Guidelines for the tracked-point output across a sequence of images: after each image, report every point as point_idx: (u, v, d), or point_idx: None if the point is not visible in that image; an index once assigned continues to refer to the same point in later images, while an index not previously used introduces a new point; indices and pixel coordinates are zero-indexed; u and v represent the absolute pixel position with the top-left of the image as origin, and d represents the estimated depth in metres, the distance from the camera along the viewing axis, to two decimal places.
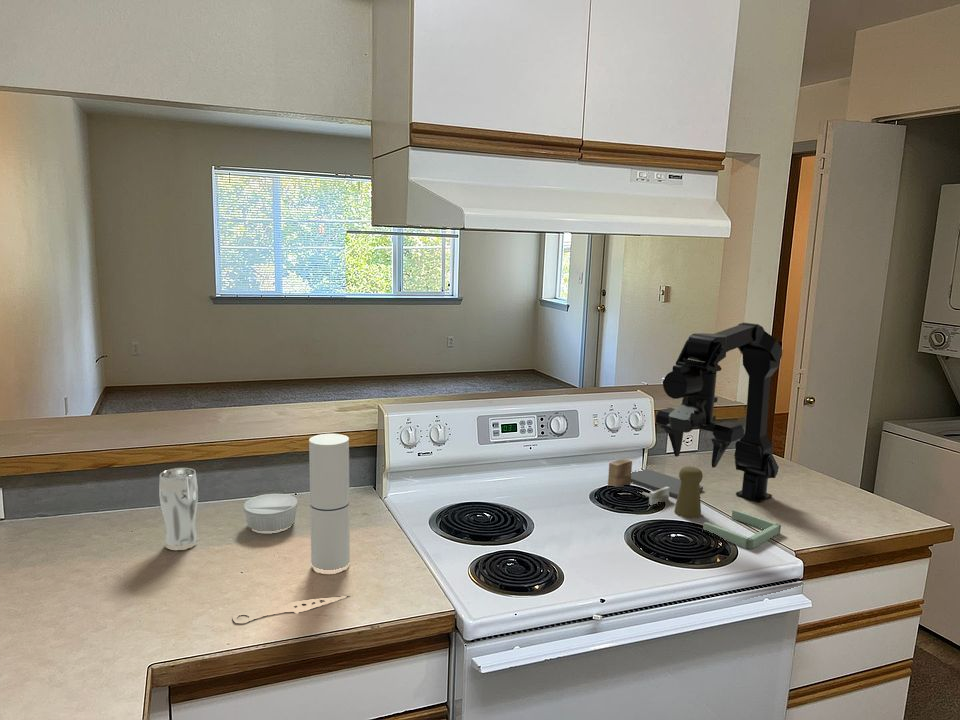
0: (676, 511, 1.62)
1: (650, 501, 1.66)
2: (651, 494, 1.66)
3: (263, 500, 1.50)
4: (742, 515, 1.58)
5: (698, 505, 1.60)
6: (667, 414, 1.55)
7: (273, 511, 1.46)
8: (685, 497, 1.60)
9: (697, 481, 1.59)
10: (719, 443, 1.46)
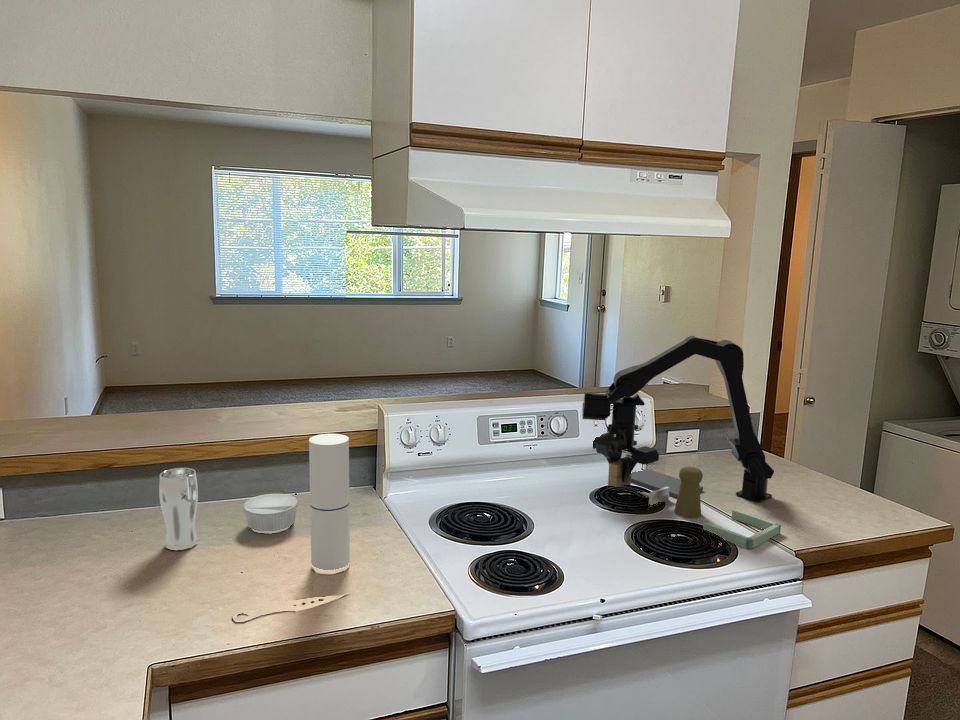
0: (676, 511, 1.62)
1: (650, 501, 1.66)
2: (651, 494, 1.66)
3: (263, 500, 1.50)
4: (742, 515, 1.58)
5: (698, 505, 1.60)
6: (596, 439, 1.78)
7: (273, 511, 1.46)
8: (685, 497, 1.60)
9: (697, 481, 1.59)
10: (626, 462, 1.72)
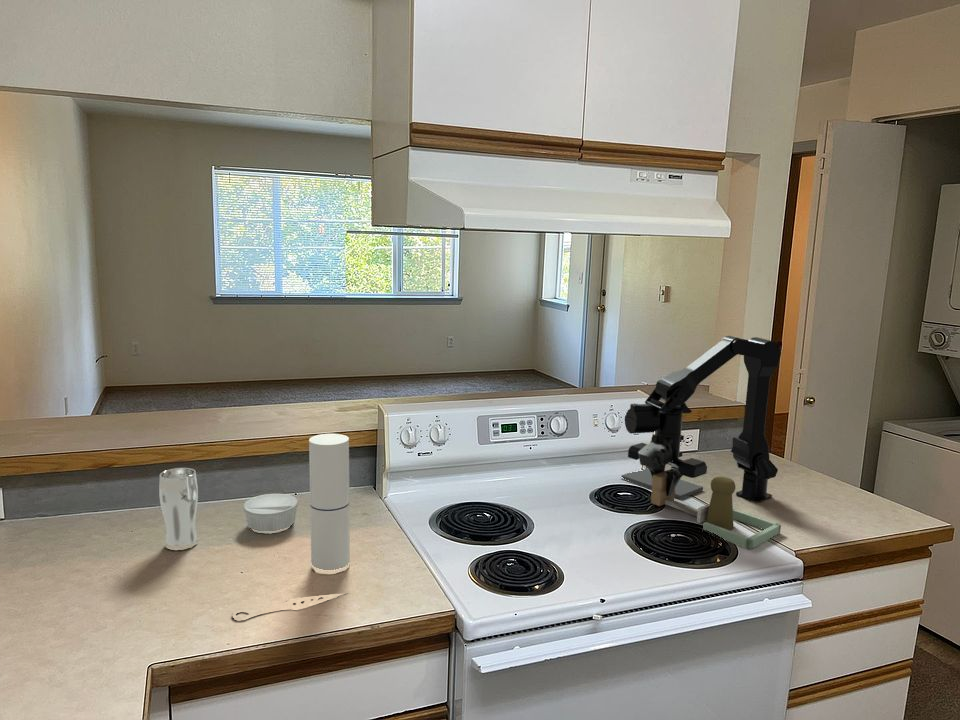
0: None
1: (698, 517, 1.57)
2: (700, 510, 1.56)
3: (263, 500, 1.50)
4: (742, 515, 1.58)
5: (730, 517, 1.54)
6: (638, 450, 1.69)
7: (273, 511, 1.46)
8: (716, 509, 1.54)
9: (729, 492, 1.52)
10: (672, 475, 1.62)
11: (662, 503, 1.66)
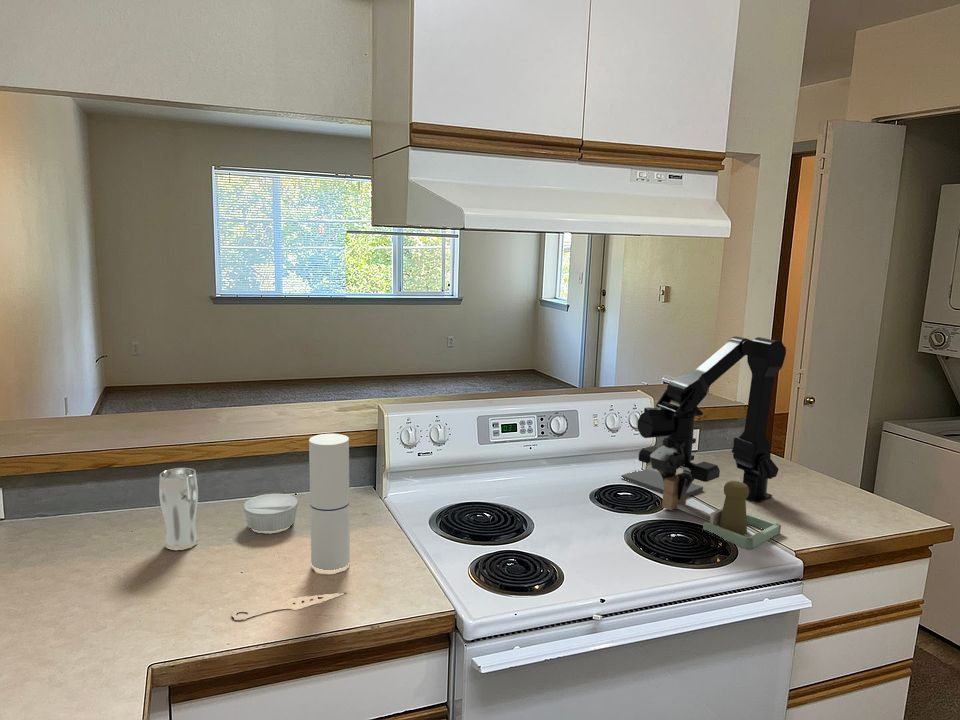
0: None
1: (711, 522, 1.54)
2: (712, 515, 1.54)
3: (263, 500, 1.50)
4: None
5: (744, 522, 1.51)
6: (649, 453, 1.66)
7: (273, 511, 1.46)
8: (730, 514, 1.51)
9: (743, 497, 1.50)
10: (684, 478, 1.59)
11: (674, 507, 1.63)
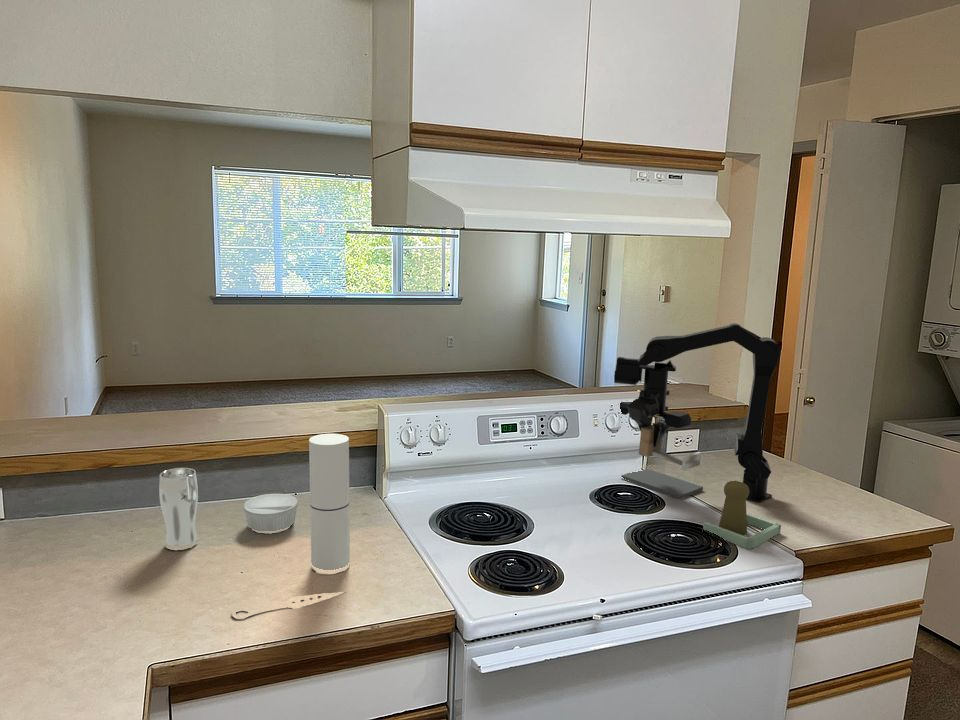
0: None
1: (683, 466, 1.69)
2: (684, 458, 1.69)
3: (263, 500, 1.50)
4: None
5: (744, 522, 1.51)
6: (627, 405, 1.81)
7: (273, 511, 1.46)
8: (730, 514, 1.51)
9: (743, 497, 1.50)
10: (659, 426, 1.74)
11: (649, 454, 1.78)
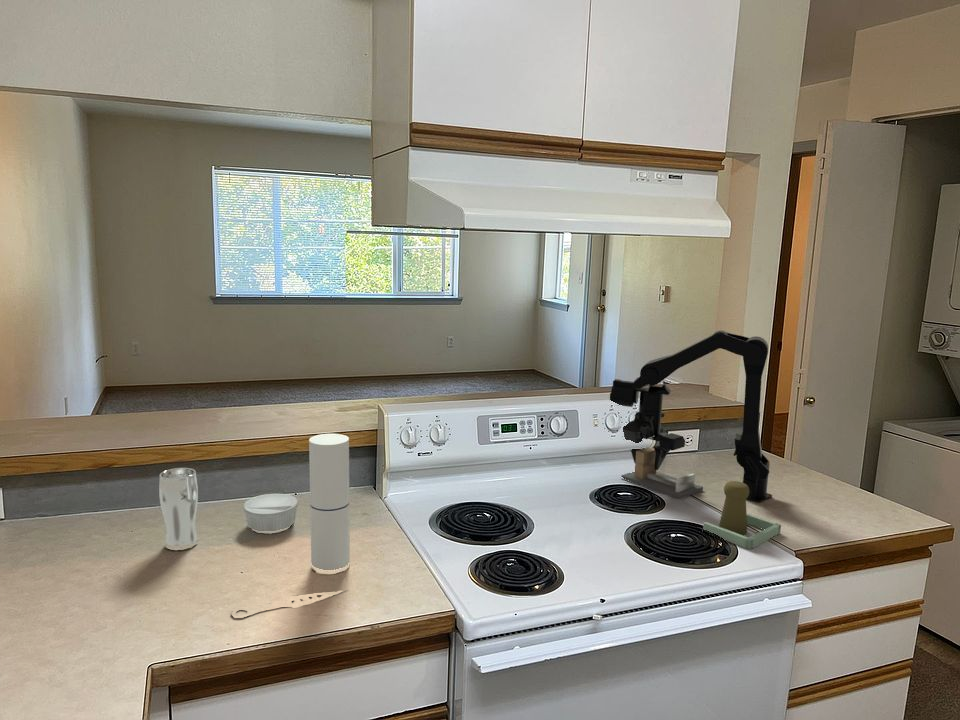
0: None
1: (676, 487, 1.73)
2: (678, 480, 1.73)
3: (263, 500, 1.50)
4: None
5: (744, 522, 1.51)
6: None
7: (273, 511, 1.46)
8: (730, 514, 1.51)
9: (743, 497, 1.50)
10: (659, 450, 1.77)
11: (645, 476, 1.82)
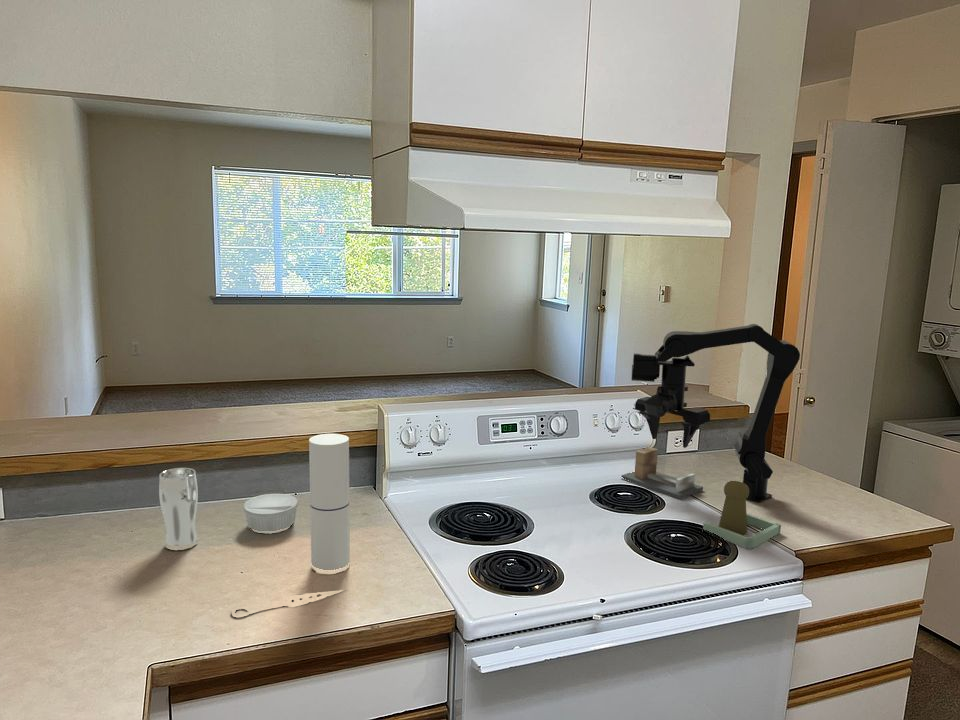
0: None
1: (676, 487, 1.73)
2: (678, 480, 1.73)
3: (263, 500, 1.50)
4: None
5: (744, 522, 1.51)
6: (645, 402, 1.78)
7: (273, 511, 1.46)
8: (730, 514, 1.51)
9: (743, 497, 1.50)
10: (688, 426, 1.68)
11: (645, 476, 1.82)
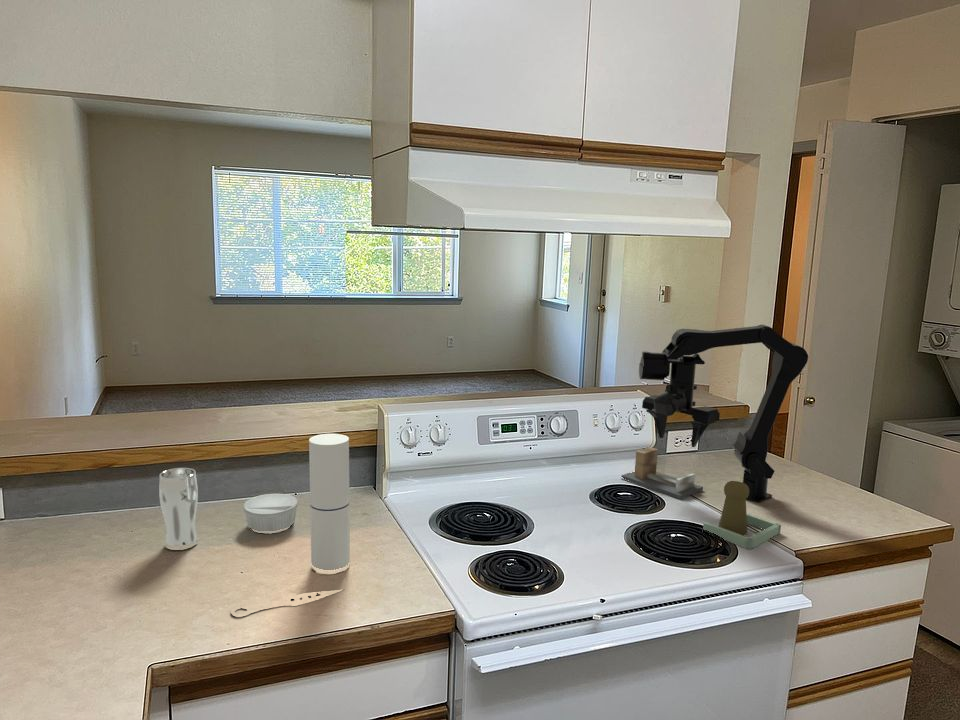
0: None
1: (676, 487, 1.73)
2: (678, 480, 1.73)
3: (263, 500, 1.50)
4: None
5: (744, 522, 1.51)
6: (652, 400, 1.75)
7: (273, 511, 1.46)
8: (730, 514, 1.51)
9: (743, 497, 1.50)
10: (697, 425, 1.66)
11: (645, 476, 1.82)
